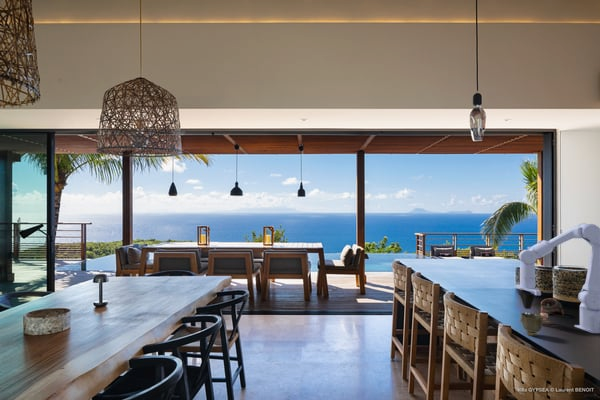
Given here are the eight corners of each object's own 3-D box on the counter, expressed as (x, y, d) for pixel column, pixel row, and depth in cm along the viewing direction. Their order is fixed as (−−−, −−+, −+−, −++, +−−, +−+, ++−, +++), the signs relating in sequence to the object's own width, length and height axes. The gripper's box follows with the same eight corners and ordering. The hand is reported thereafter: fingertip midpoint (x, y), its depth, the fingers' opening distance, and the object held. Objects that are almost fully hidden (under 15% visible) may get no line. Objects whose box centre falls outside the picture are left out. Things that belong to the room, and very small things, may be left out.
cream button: (532, 318, 166) (532, 314, 166) (526, 318, 166) (526, 314, 166) (528, 316, 169) (528, 312, 169) (522, 316, 168) (522, 312, 168)
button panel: (551, 324, 165) (551, 321, 165) (527, 324, 164) (527, 321, 164) (544, 321, 170) (543, 318, 170) (520, 321, 169) (520, 318, 169)
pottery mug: (570, 317, 178) (564, 303, 177) (550, 325, 180) (544, 311, 178) (555, 305, 190) (549, 291, 188) (536, 312, 191) (530, 298, 190)
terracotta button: (549, 318, 166) (549, 314, 166) (543, 318, 166) (543, 314, 166) (545, 316, 169) (545, 312, 169) (538, 316, 169) (538, 312, 169)
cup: (522, 330, 155) (522, 311, 156) (544, 334, 151) (544, 314, 151) (519, 335, 150) (519, 314, 150) (541, 339, 145) (541, 318, 145)
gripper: (508, 274, 175) (508, 304, 174) (529, 280, 160) (529, 312, 160) (523, 274, 175) (523, 304, 175) (545, 280, 160) (545, 312, 160)
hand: (527, 308), depth 167 cm, fingers closed
